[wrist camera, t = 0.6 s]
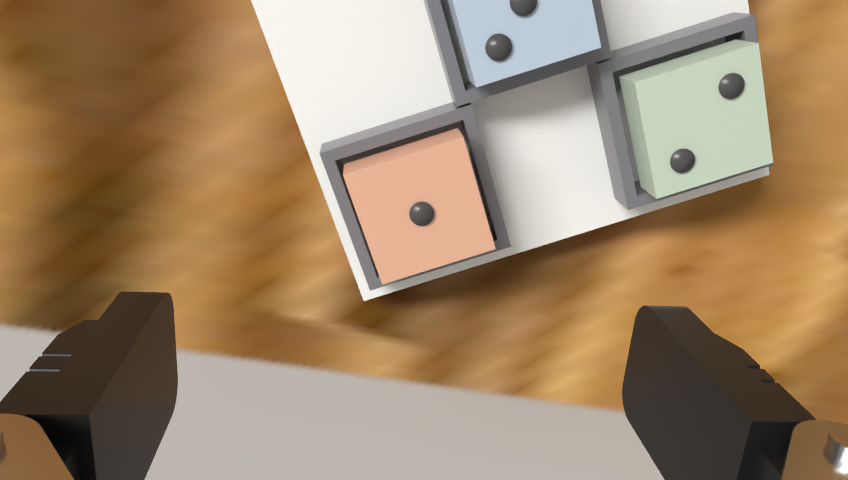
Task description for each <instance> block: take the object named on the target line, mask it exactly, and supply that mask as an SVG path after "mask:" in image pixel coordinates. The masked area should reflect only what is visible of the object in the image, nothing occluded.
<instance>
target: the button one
mask: <svg viewBox="0 0 848 480" xmlns="http://www.w3.org/2000/svg"><path fill="white" fill-rule="evenodd" d="M343 177H344V180H345V182H346V185H347V188H348V191H349V194H350V196H351V199H352V202H353V205H354V207H355V210H356V213H357V216H358V219H359V221H360V224H361V227H362V230H363V232H364V235H365V238H366V241H367V244H368V246H369V249H370V252H371V255H372V257H373V260H374V263H375V266H376V269H377V271H378V274H379V277H380V280H381V282H382V284H385V283H389V282H392V281H395V280H398V279H402V278H405V277H408V276H411V275H414V274H418V273H421V272H424V271H427V270H430V269H434V268H437V267H440V266H443V265H446V264H450V263H453V262H456V261H459V260H462V259H466V258H469V257H472V256H475V255H478V254H482V253H485V252H488V251H491V250H495V249H496V248H495V245H494V241H493V238H492V234H491V231H490V227H489V224H488V221H487V217H486V214H485V210H484V207H483V203H482V200H481V196H480V193H479V189H478V186H477V182H476V179H475V175H474V172H473V168H472V165H471V161H470V158H469V154H468V151H467V147H466V144H465V140H464V137H463V135H462V134H461V132H460V131H459V129H458V128H456V129H453V130H450V131H447V132H443V133H440V134H437V135H434V136H431V137H428V138H425V139H421V140H418V141H415V142H412V143H409V144H406V145H403V146H399V147H396V148H393V149H390V150H387V151H384V152H381V153H377V154H374V155H371V156H368V157H365V158H362V159H359V160H355V161H352V162H349V163H346V164H344V170H343Z"/></svg>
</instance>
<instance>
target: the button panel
mask: <svg viewBox="0 0 848 480" xmlns="http://www.w3.org/2000/svg"><path fill="white" fill-rule="evenodd" d="M251 1H252V4H253V6H254V9H255V12H256V14H257V17H258V20H259V22H260V25H261V28H262V30H263V33H264V36H265V38H266V41H267V44H268V46H269V49H270V52H271V54H272V57H273V60H274V62H275V65H276V68H277V70H278V73H279V76H280V78H281V81H282V84H283V86H284V89H285V92H286V94H287V97H288V100H289V102H290V105H291V108H292V110H293V113H294V116H295V118H296V121H297V124H298V126H299V129H300V132H301V134H302V137H303V140H304V142H305V145H306V148H307V150H308V153H309V156H310V158H311V161H312V164H313V167H314V169H315V172H316V175H317V177H318V180H319V183H320V185H321V188H322V191H323V193H324V196H325V199H326V201H327V204H328V207H329V209H330V212H331V215H332V217H333V220H334V223H335V225H336V228H337V231H338V233H339V236H340V239H341V241H342V244H343V247H344V249H345V252H346V255H347V257H348V260H349V263H350V265H351V268H352V271H353V273H354V276H355V279H356V281H357V284H358V287H359V289H360V292H361V295H362V297H363V300H364V301H366V300H369V299H372V298H375V297H379V296H382V295H385V294H388V293H391V292H395V291H398V290H401V289H404V288H407V287H411V286H414V285H417V284H420V283H424V282H427V281H430V280H433V279H436V278H440V277H443V276H446V275H449V274H452V273H456V272H459V271H462V270H465V269H469V268H472V267H475V266H478V265H481V264H485V263H488V262H491V261H494V260H497V259H501V258H504V257H507V256H510V255H513V254H517V253H520V252H523V251H526V250H530V249H533V248H536V247H539V246H542V245H546V244H549V243H552V242H555V241H558V240H562V239H565V238H568V237H571V236H575V235H578V234H581V233H584V232H587V231H591V230H594V229H597V228H600V227H603V226H607V225H610V224H613V223H616V222H619V221H623V220H626V219H629V218H632V217H636V216H639V215H642V214H645V213H648V212H652V211H655V210H658V209H661V208H664V207H668V206H671V205H674V204H677V203H681V202H684V201H687V200H690V199H693V198H697V197H700V196H703V195H706V194H709V193H713V192H716V191H719V190H722V189H725V188H729V187H732V186H735V185H738V184H742V183H745V182H748V181H751V180H754V179H758V178H761V177H764V176H767V175H769V166H772V165H773V163H770V164H767V165H764V166H761V167H757V168H754V169H751V170H748V171H745V172H741V173H738V174H735V175H732V176H729V177H725V178H722V179H719V180H716V181H713V182H709V183H706V184H703V185H700V186H697V187H693V188H690V189H687V190H684V191H681V192H677V193H674V194H671V195H668V196H664V197H661V198H658V199H656V198H655V197H653V196H652V195H651V194H649V193H648V192H647V191H645V190H644V189H643V188H641V186H640V180H639V175H638V170H637V165H636V160H635V155H634V150H633V145H632V140H631V135H630V130H629V125H628V119H627V114H626V109H625V104H624V99H623V94H622V89H621V84H620V79H619V76H623V75H626V74H629V73H632V72H635V71H638V70H641V69H645V68H648V67H651V66H654V65H657V64H660V63H663V62H667V61H670V60H673V59H676V58H679V57H682V56H685V55H689V54H692V53H695V52H698V51H701V50H704V49H707V48H711V47H714V46H717V45H720V44H723V43H726V42H729V41H733V40H742V41H748V42H754V43H758V37H757V29H756V21H755V14H749V6H748V0H592V4H593V9H594V14H595V19H596V24H597V29H598V34H599V38H600V43H601V48H598V49H595V50H592V51H589V52H586V53H583V54H580V55H576V56H573V57H570V58H567V59H564V60H561V61H558V62H555V63H551V64H548V65H545V66H542V67H539V68H536V69H533V70H530V71H526V72H523V73H520V74H517V75H514V76H511V77H508V78H504V79H501V80H498V81H495V82H492V83H489V84H486V85H483V86H479V87H475V86H474V85H473V84H472V83H471V82H470V80H469V76H468V73H467V69H466V65H465V62H464V58H463V54H462V51H461V47H460V43H459V40H458V36H457V33H456V29H455V25H454V22H453V18H452V14H451V11H450V7H449V4H448V0H251ZM456 128H458V129H459V131H460V132H461V134H462V135H463V137H464V140H465V144H466V147H467V151H468V154H469V158H470V161H471V165H472V168H473V172H474V175H475V179H476V182H477V186H478V189H479V193H480V196H481V200H482V203H483V207H484V210H485V214H486V217H487V221H488V224H489V227H490V231H491V234H492V238H493V241H494V245H495V248H496V249H495V250H491V251H488V252H485V253H482V254H478V255H475V256H472V257H469V258H466V259H462V260H459V261H456V262H453V263H450V264H446V265H443V266H440V267H437V268H434V269H430V270H427V271H424V272H421V273H418V274H414V275H411V276H408V277H405V278H402V279H398V280H395V281H392V282H389V283H385V284H382V282H381V280H380V277H379V274H378V271H377V269H376V266H375V263H374V260H373V257H372V255H371V252H370V249H369V246H368V244H367V241H366V238H365V235H364V232H363V230H362V227H361V224H360V221H359V219H358V216H357V213H356V210H355V207H354V205H353V202H352V199H351V196H350V194H349V191H348V188H347V185H346V182H345V180H344V177H343V170H344V164H346V163H349V162H352V161H355V160H359V159H362V158H365V157H368V156H371V155H374V154H377V153H381V152H384V151H387V150H390V149H393V148H396V147H399V146H403V145H406V144H409V143H412V142H415V141H418V140H421V139H425V138H428V137H431V136H434V135H437V134H440V133H443V132H447V131H450V130H453V129H456Z"/></svg>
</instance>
